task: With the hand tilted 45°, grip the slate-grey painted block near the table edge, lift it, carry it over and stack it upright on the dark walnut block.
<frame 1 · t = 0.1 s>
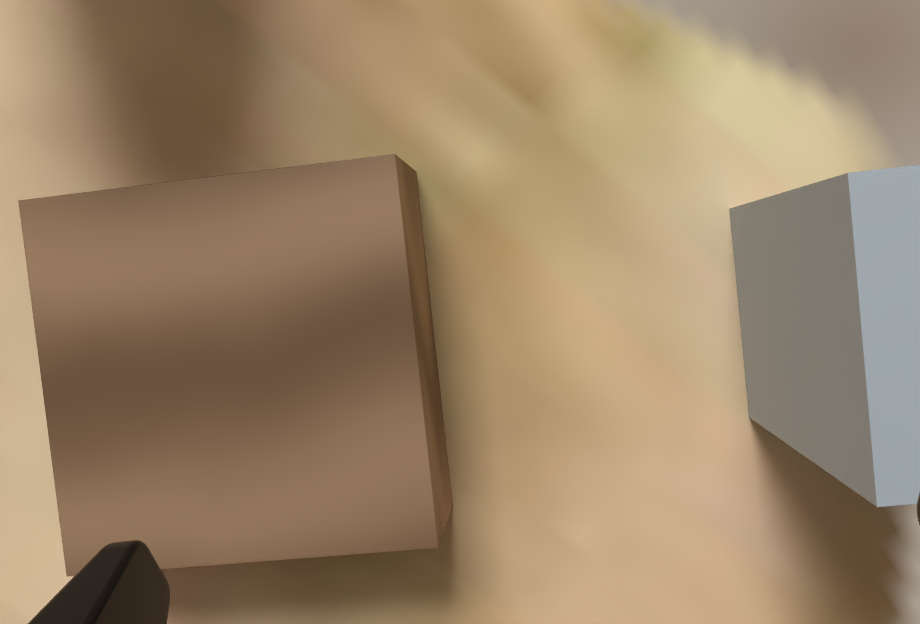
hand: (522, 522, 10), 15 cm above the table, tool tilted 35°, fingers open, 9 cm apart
walnut block: (274, 356, 25), on the table
slate block: (847, 302, 23), on the table
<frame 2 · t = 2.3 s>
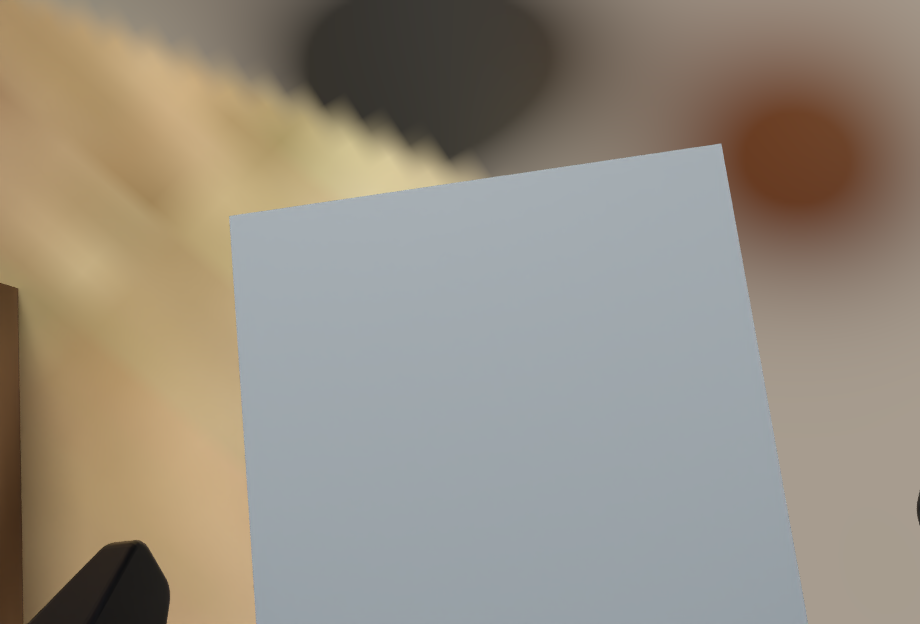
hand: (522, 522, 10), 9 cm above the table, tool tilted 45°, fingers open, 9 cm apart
slate block: (525, 441, 18), on the table
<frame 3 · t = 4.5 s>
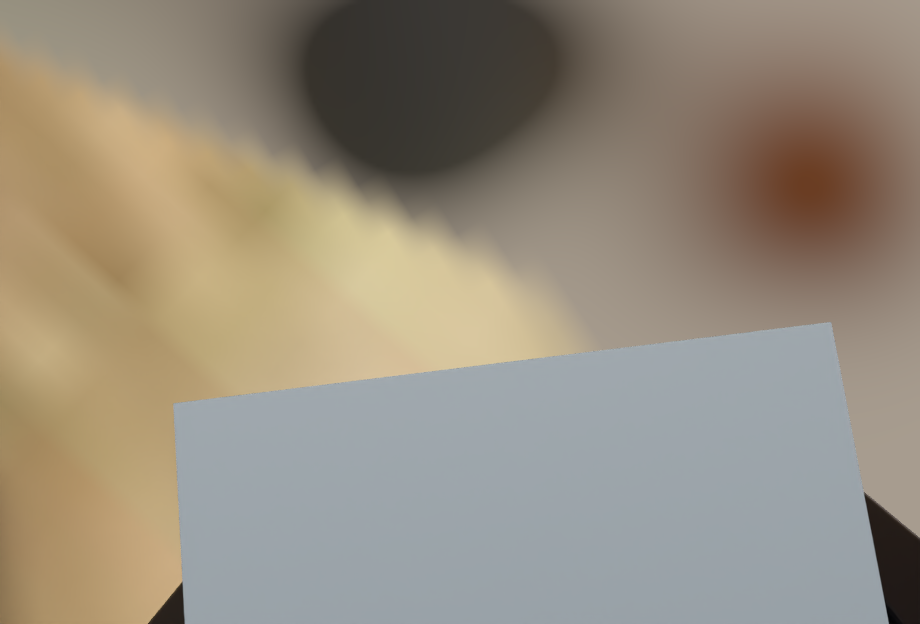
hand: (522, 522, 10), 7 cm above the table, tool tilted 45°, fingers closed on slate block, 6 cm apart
slate block: (545, 566, 16), on the table, touching gripper
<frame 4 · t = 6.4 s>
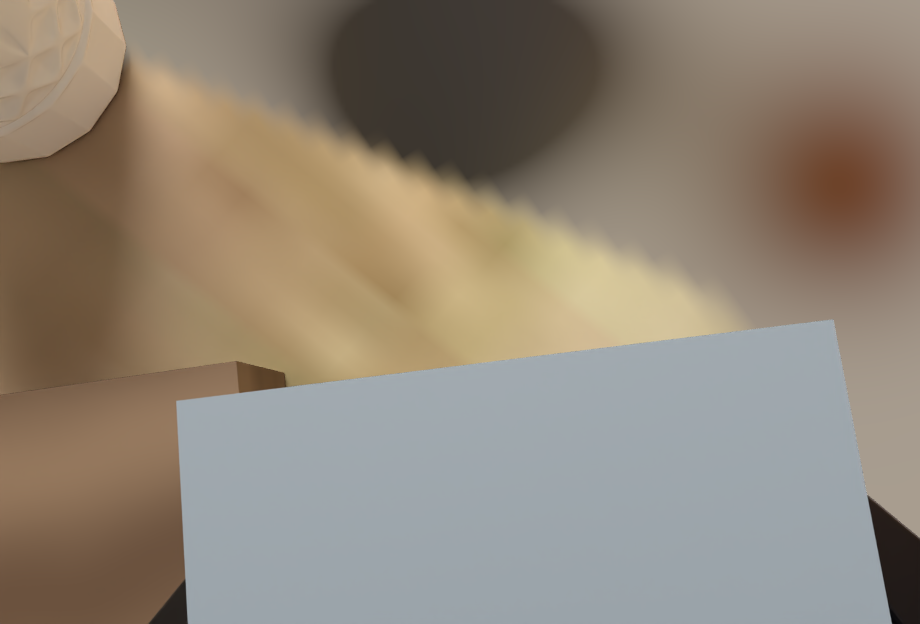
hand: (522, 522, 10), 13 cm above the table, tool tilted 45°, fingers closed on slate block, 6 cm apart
walnut block: (136, 569, 24), on the table
slate block: (546, 565, 16), point 7 cm above the table, touching gripper
white cup: (31, 65, 27), on the table
when the fingers open (11 cm above the table, at t = 8.5 s): slate block drops 1 cm, resting on walnut block.
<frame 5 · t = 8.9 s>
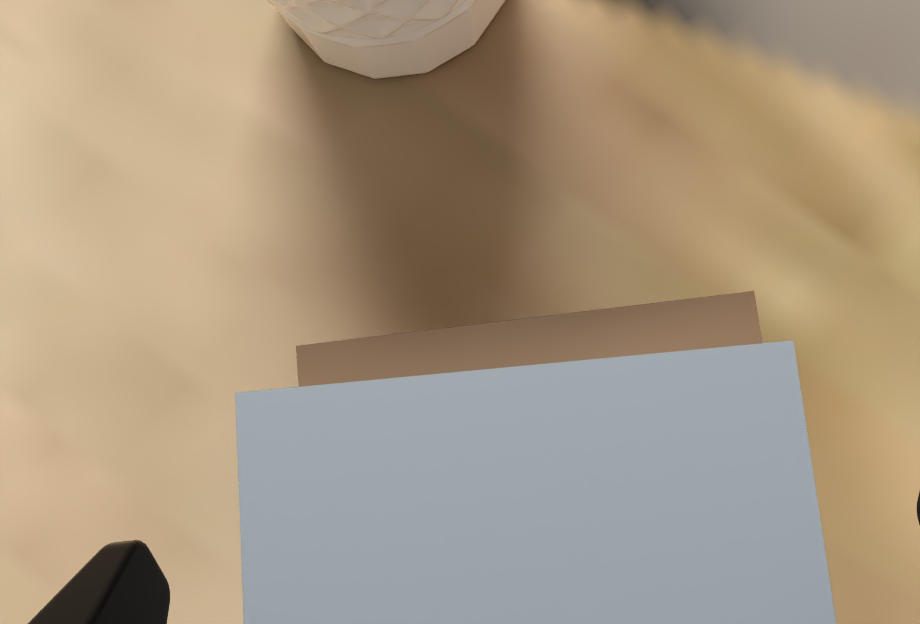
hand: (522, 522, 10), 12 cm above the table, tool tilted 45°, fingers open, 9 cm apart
walnut block: (548, 535, 21), on the table, touching slate block
slate block: (543, 551, 17), point 4 cm above the table, touching walnut block
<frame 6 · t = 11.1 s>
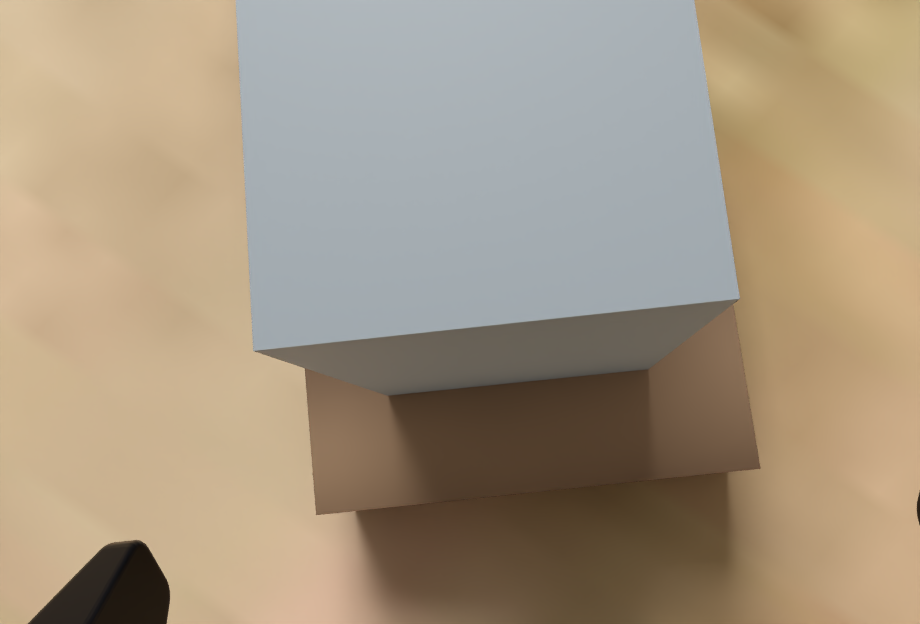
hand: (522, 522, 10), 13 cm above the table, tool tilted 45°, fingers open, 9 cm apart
walnut block: (514, 303, 23), on the table, touching slate block
slate block: (502, 255, 20), point 4 cm above the table, touching walnut block
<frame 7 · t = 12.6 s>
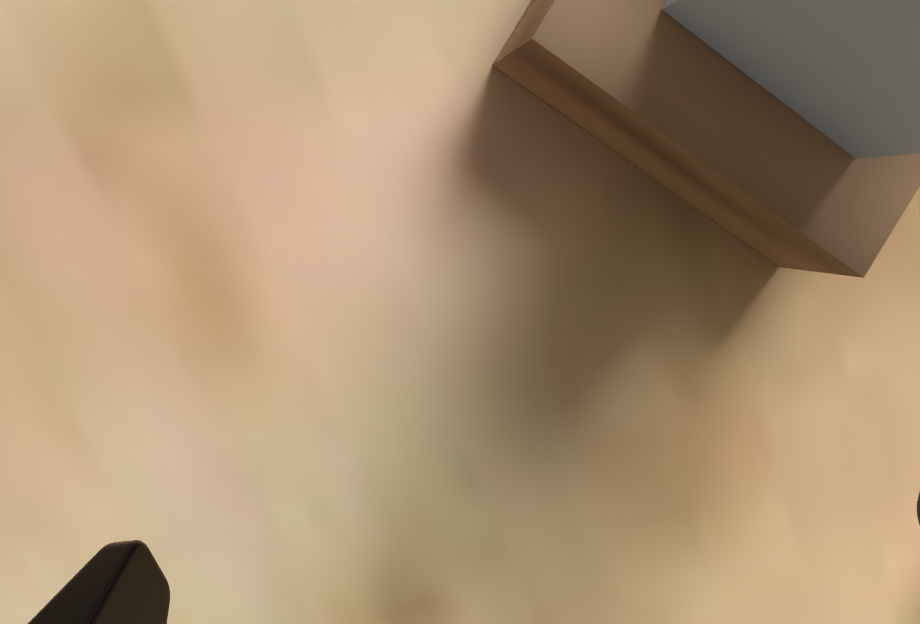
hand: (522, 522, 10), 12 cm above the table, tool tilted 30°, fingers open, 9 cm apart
walnut block: (731, 17, 23), on the table, touching slate block
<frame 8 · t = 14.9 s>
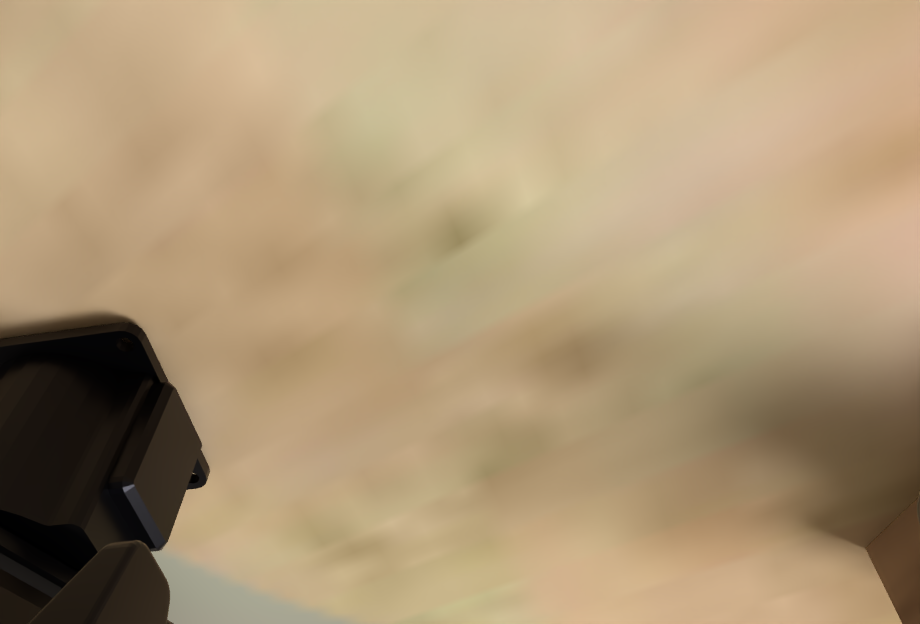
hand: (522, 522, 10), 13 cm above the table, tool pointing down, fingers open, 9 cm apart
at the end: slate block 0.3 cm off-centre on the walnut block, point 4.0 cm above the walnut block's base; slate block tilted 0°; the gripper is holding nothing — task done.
